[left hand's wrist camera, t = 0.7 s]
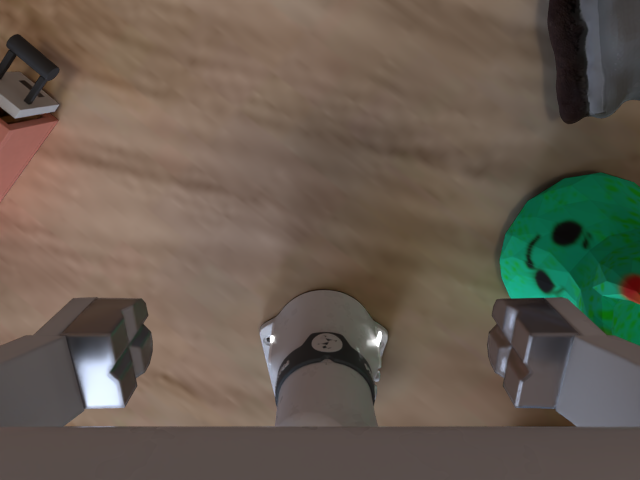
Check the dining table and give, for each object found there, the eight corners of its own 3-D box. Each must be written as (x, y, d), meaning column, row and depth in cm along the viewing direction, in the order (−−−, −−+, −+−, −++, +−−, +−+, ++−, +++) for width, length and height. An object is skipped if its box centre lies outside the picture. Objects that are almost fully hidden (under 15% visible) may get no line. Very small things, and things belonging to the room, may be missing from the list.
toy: (536, 152, 54) (697, 217, 31) (679, 194, 56) (930, 284, 33) (472, 292, 62) (564, 428, 38) (600, 324, 64) (761, 472, 41)
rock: (527, -49, 46) (567, -70, 39) (636, -84, 45) (698, -113, 38) (543, 121, 53) (579, 131, 46) (638, 94, 52) (691, 99, 45)
